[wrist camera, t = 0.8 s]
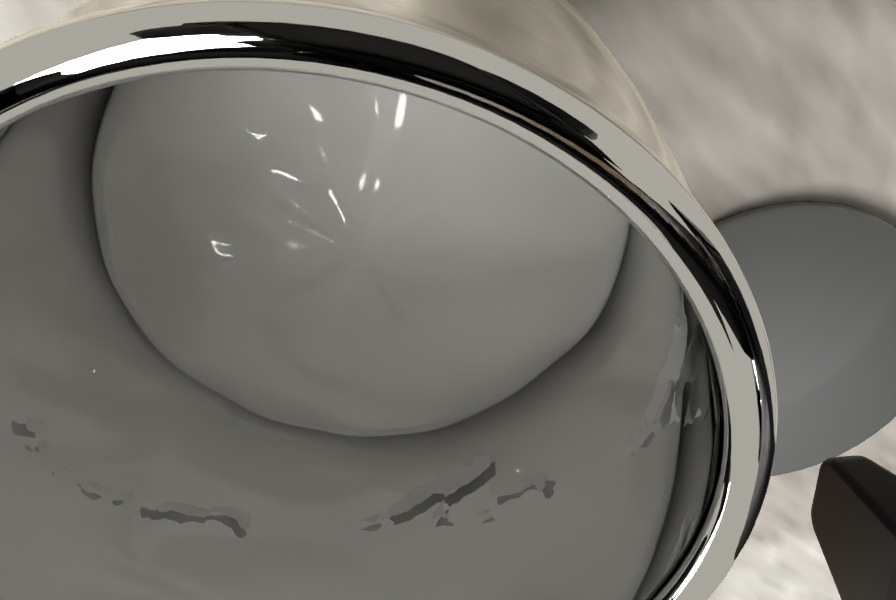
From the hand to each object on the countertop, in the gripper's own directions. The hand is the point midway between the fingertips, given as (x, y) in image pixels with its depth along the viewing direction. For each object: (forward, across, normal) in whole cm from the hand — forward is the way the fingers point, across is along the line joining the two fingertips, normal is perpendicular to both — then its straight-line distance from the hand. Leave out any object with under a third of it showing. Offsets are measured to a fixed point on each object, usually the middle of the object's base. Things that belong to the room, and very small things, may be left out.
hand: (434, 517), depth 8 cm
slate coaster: (+13, -10, +7) cm, 17 cm away
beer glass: (+13, 0, -3) cm, 13 cm away
